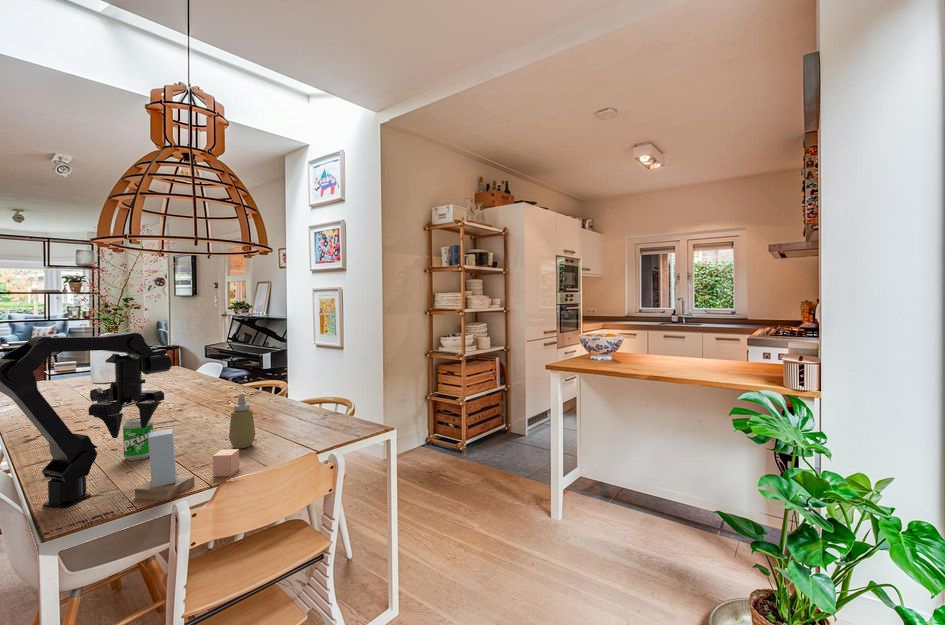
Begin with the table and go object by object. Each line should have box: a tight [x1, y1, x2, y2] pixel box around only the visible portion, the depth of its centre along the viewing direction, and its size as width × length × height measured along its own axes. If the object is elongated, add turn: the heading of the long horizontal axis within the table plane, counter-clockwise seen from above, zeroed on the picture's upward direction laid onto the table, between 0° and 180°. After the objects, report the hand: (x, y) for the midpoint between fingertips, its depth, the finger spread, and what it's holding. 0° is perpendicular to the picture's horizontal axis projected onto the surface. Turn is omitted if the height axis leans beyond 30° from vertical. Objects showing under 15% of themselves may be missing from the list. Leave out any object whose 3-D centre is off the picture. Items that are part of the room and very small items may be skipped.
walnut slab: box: [134, 474, 195, 501], centre depth 113 cm, size 9×9×3 cm
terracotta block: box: [212, 448, 240, 477], centre depth 125 cm, size 5×5×6 cm
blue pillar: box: [148, 428, 177, 488], centre depth 112 cm, size 5×5×13 cm
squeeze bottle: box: [228, 393, 256, 450], centre depth 148 cm, size 8×8×18 cm
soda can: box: [122, 417, 154, 461], centre depth 138 cm, size 8×8×12 cm
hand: (129, 432), depth 121 cm, fingers open, 9 cm apart
